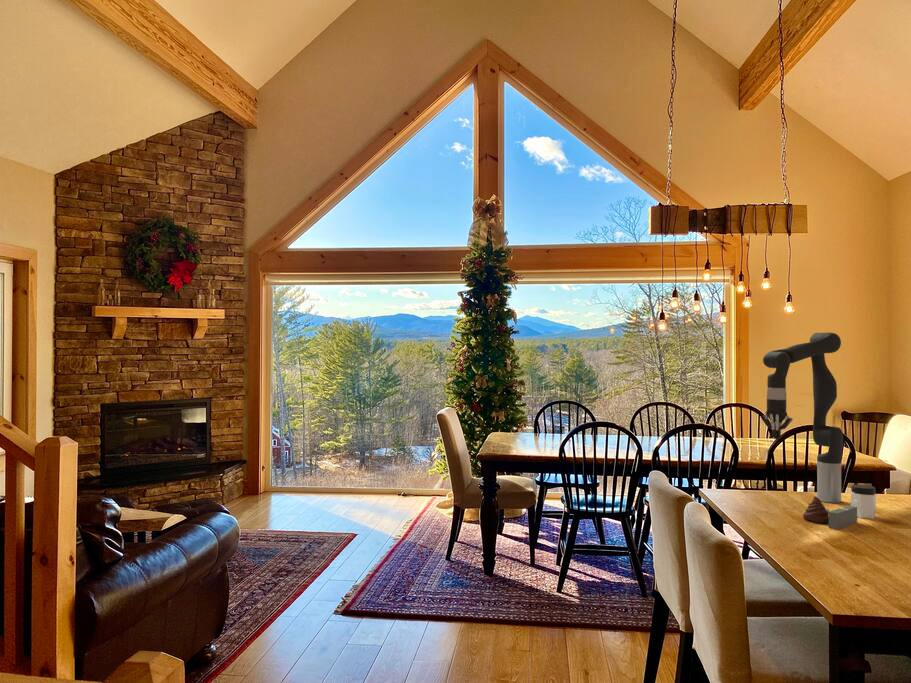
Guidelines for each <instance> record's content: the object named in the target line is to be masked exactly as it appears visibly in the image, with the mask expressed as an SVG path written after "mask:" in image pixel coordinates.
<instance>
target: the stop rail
mask: <svg viewBox="0 0 911 683" xmlns="http://www.w3.org/2000/svg"><path fill="white" fill-rule="evenodd" d="M828 516H829V523H828V528H829V529H833V530H836V531H838V530H840V529H843V528H846V527H848V526H852V525H855V524H857V523H858V517H857V507H855V506H851V505H846V506H843V507H838V508H836V509H834V510H830V512H829V514H828Z"/></svg>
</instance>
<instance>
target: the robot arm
mask: <svg viewBox="0 0 911 683" xmlns="http://www.w3.org/2000/svg"><path fill="white" fill-rule="evenodd" d="M841 345H842V340H841V337H840V335H838V334H837V333H834V332H816V333H815V332H814V333H812V334H811V336H810V338H809V342H804V343H798V344H794V345H791V346H788V347H785V348H783V349H777V350H770V351H768V352H766V353H764V356H763V358H762V363H763V364H764V366H765V367H767V368H768V369H769V368H770V369H775V371H774V372H773V373H771V374H768V375H767V383H766V386H767V387H766V388H767V390H766V411H765V414H764V415H761V416H760V418H761V420H762V421H763V423H764V424H765V426H766V427H767V428H768V429H771V430H772V432H771V433H772V438H773V439H774V440H780V439H781V437H782V436H781V435H782V434H781V433H782V430H785V429H786V428H787V427H788V426H789V425H790V424H791V422H793V420H794V419H793V417H790V416H789V415H788V412H787V387H786V386H787V382H786V380H787V376H788V373H789V370H790V365H791V364H795V363H797V362H799V361H803V360H806V359H808V358H810V359H811V366H812V368H811V369H812V391H813V392H812V394H813V395H812V396H813V423H812V425H813V426H812V439H813V442H814V444H815V445H817V446H820V447H827V448H828V451H826V452H824V453H819V454H817V458H816V459H817V462H816V466H817V467H816V468H817V469H816V475H817V476H816V477H817V479H816V480H817V481H816V482H817V483H816V489H817V492H816V497H817V498H819V500H820V501H821V502H825V503H832V504H833V503H834V504H835V503H836V504H837V503H841V502H842V458H843V454H844V453H843V451H844V450H843V449H844V434H843V431H842V429H841V428H840V427H838V426H830V425H826V424H827V415H828V413H829V411H830V410H831V408H832V407H833V405H834V403H835V402H836V401H837V398H838V389H837V388H838V386H837V381H836V379H835V377H834V374H832V372H831V371H830V369H829V368H828V365H827V363H826V359H825V358H826V357H825V356H826V355H825V354H833V353H836V352H837V351H839V349H840V348H841Z"/></svg>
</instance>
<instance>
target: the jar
mask: <svg viewBox="0 0 911 683" xmlns="http://www.w3.org/2000/svg"><path fill="white" fill-rule="evenodd" d="M850 488H851V491H850V506H855V507H857V518H860V519H869V520H874V519H875V518H876V516H877V514H876V513H877V506H876V505H877V496H876V495H877V494H876V487H875V486H872V485H867V484H852V485H851V487H850Z"/></svg>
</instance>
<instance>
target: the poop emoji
mask: <svg viewBox="0 0 911 683" xmlns="http://www.w3.org/2000/svg"><path fill="white" fill-rule="evenodd" d="M830 511H831V510H830V509H829V508H828V507H825V506H824V504H823V503H822V501H820V500H819V498H817V496H813V499H812V501H811V502H810V503H808V506H807V507H806V509H805V512H803V513H802V517H803V519H804V520H805V521H811V522H812V523H815V524H818V525H819V524H821V525H827V524H828V525H829V512H830Z"/></svg>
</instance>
